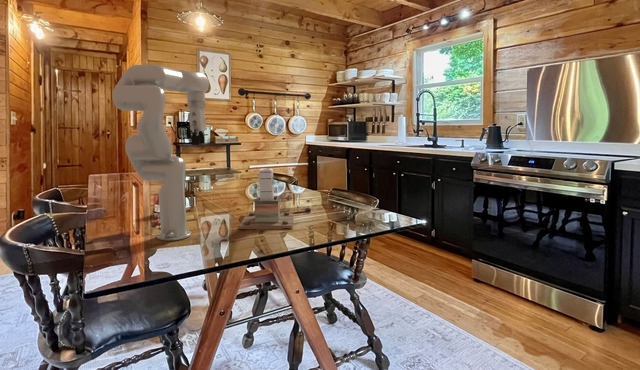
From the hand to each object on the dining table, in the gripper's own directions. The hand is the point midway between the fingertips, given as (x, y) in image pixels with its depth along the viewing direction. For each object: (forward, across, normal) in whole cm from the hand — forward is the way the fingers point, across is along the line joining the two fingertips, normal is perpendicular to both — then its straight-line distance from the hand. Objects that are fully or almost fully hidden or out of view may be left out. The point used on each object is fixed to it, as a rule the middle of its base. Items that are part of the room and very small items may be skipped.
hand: (198, 144), depth 177 cm
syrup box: (+25, -9, -31) cm, 41 cm away
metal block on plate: (+34, -9, -31) cm, 47 cm away
